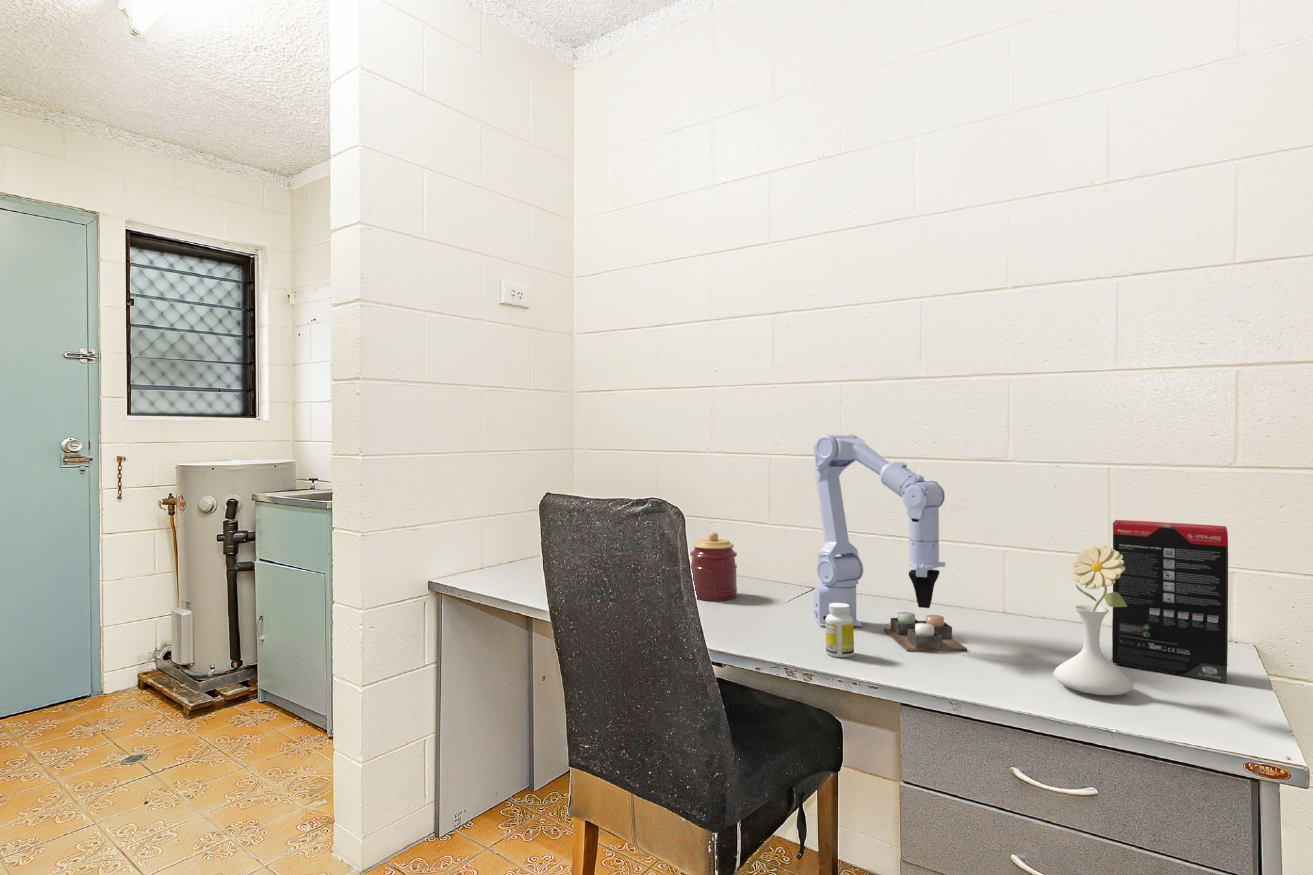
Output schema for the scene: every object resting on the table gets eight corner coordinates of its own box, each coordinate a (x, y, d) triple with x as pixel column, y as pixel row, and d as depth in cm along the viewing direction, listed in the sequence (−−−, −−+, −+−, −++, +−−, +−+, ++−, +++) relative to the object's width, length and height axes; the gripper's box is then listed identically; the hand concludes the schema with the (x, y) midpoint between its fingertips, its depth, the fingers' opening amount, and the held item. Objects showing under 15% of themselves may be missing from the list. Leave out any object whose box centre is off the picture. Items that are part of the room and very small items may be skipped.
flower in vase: (1038, 679, 121) (1037, 538, 121) (1099, 677, 122) (1098, 537, 122) (1091, 707, 108) (1089, 549, 108) (1159, 705, 109) (1157, 548, 109)
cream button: (919, 640, 138) (918, 627, 138) (912, 635, 142) (912, 623, 142) (936, 640, 138) (936, 627, 138) (930, 635, 142) (930, 623, 142)
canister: (744, 600, 183) (743, 534, 183) (697, 602, 180) (697, 536, 180) (728, 590, 196) (727, 528, 196) (684, 592, 193) (684, 530, 193)
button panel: (907, 651, 137) (907, 636, 137) (884, 631, 152) (884, 617, 152) (967, 651, 137) (967, 636, 137) (938, 631, 152) (938, 617, 152)
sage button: (900, 628, 148) (900, 616, 148) (895, 623, 151) (895, 612, 151) (917, 628, 147) (917, 616, 148) (911, 623, 151) (911, 612, 151)
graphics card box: (1228, 675, 123) (1226, 523, 123) (1231, 685, 117) (1228, 527, 118) (1114, 657, 133) (1112, 517, 133) (1111, 666, 128) (1110, 521, 128)
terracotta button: (929, 631, 145) (929, 619, 145) (923, 626, 149) (923, 614, 149) (946, 631, 145) (946, 619, 145) (940, 626, 149) (940, 614, 149)
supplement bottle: (854, 651, 137) (854, 602, 137) (853, 659, 132) (852, 609, 132) (826, 649, 139) (826, 601, 139) (824, 656, 134) (824, 606, 134)
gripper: (943, 546, 132) (943, 616, 132) (946, 536, 145) (947, 600, 145) (904, 543, 135) (905, 612, 135) (911, 535, 148) (911, 597, 148)
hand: (924, 606), depth 140 cm, fingers closed
